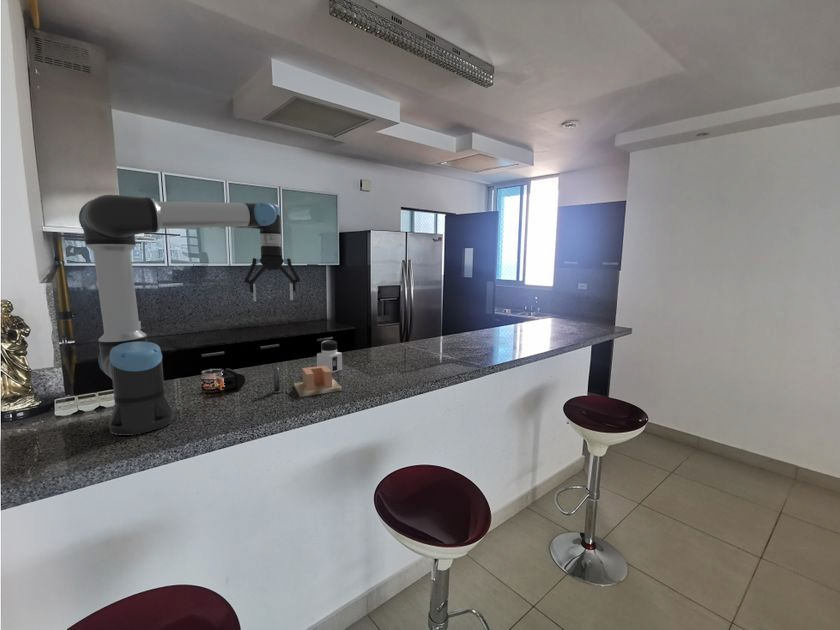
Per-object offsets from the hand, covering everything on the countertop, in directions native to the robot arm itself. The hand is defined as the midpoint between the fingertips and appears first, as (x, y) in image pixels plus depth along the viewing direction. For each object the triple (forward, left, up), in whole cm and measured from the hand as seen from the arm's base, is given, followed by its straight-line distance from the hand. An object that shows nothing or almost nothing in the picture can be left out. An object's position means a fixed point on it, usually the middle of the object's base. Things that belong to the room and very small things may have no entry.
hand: (273, 300), depth 151 cm
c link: (+12, -19, -30) cm, 38 cm away
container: (+22, +3, -32) cm, 39 cm away
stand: (-2, -17, -32) cm, 36 cm away
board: (+12, -19, -32) cm, 39 cm away
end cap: (-17, -5, -32) cm, 37 cm away
